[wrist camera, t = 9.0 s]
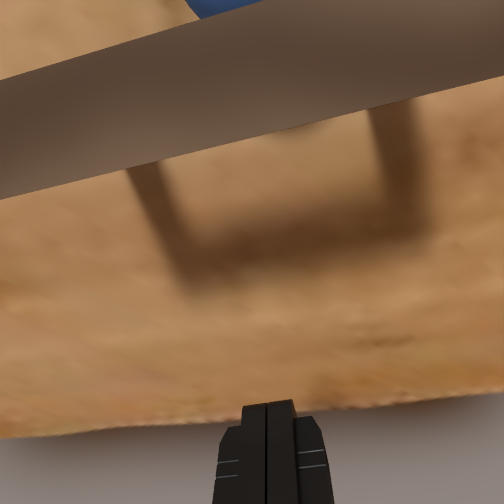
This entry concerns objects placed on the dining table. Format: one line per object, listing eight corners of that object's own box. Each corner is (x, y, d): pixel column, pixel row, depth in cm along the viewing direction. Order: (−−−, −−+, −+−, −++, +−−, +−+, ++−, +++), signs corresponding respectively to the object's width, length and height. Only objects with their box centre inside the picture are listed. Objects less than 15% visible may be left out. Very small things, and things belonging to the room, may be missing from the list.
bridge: (402, 63, 18) (516, 72, 10) (111, 140, 21) (-9, 201, 12) (397, -11, 17) (524, -79, 8) (87, 80, 19) (-68, 100, 11)
